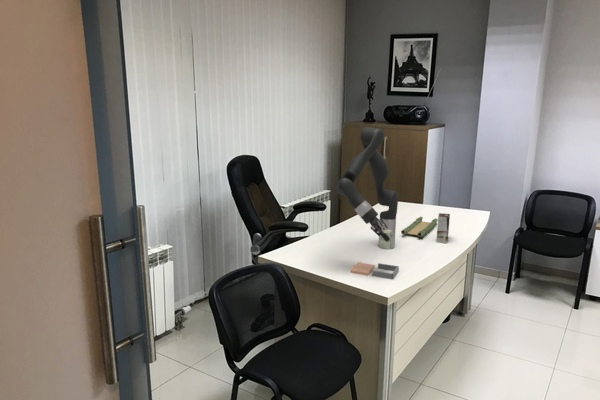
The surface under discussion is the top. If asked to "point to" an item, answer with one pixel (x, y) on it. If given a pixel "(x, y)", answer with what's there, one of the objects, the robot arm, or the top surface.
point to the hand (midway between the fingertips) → (389, 238)
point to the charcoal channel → (384, 274)
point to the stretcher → (420, 227)
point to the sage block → (383, 243)
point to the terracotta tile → (362, 268)
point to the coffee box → (443, 228)
